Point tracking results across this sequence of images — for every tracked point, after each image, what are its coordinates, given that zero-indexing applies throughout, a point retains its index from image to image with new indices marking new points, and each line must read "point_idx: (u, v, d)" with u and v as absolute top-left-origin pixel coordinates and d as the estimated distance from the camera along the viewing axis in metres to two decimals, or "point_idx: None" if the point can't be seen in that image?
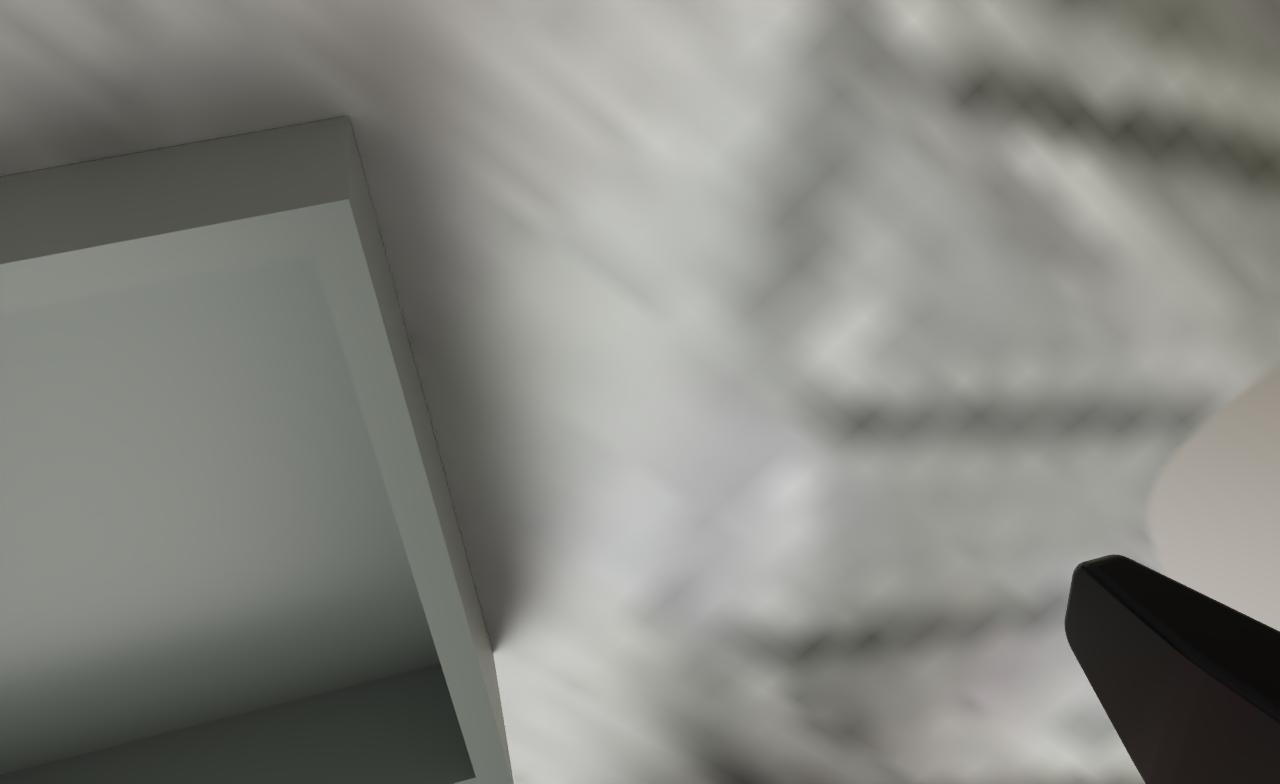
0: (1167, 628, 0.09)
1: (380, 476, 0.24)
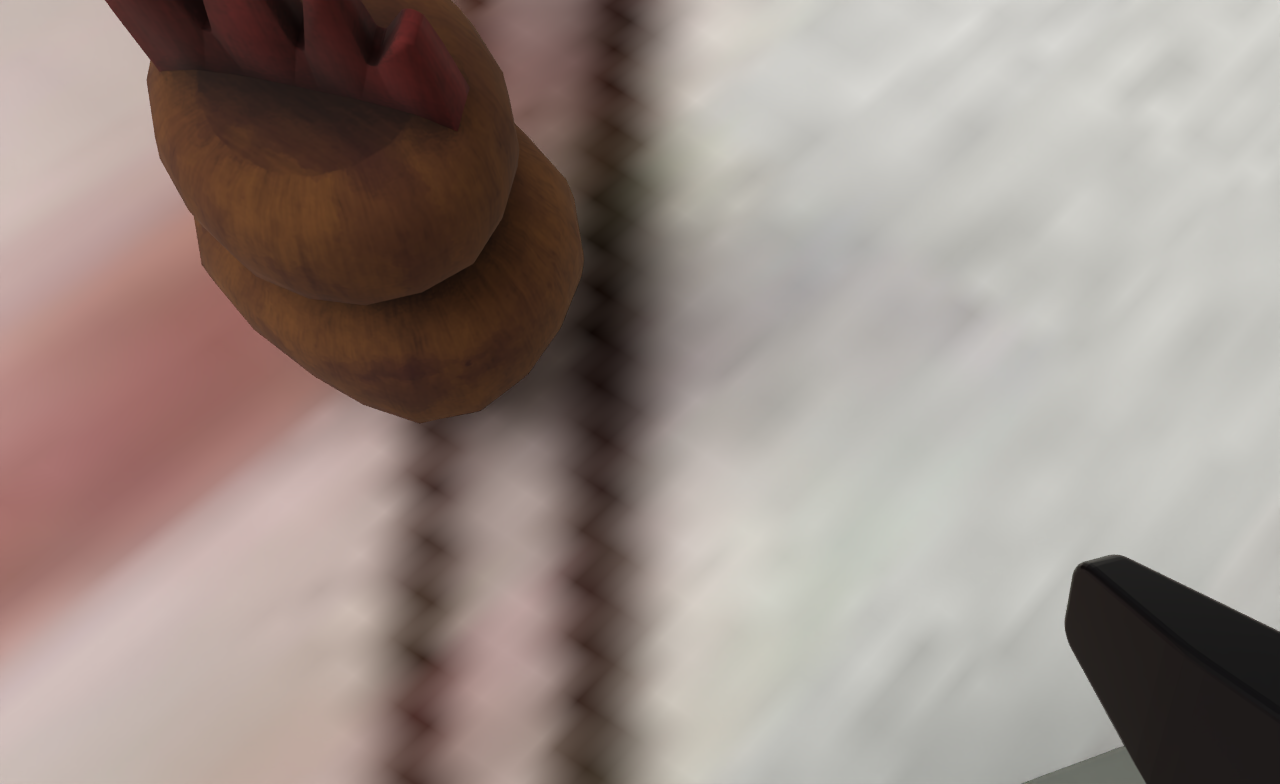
0: (1167, 629, 0.09)
1: None
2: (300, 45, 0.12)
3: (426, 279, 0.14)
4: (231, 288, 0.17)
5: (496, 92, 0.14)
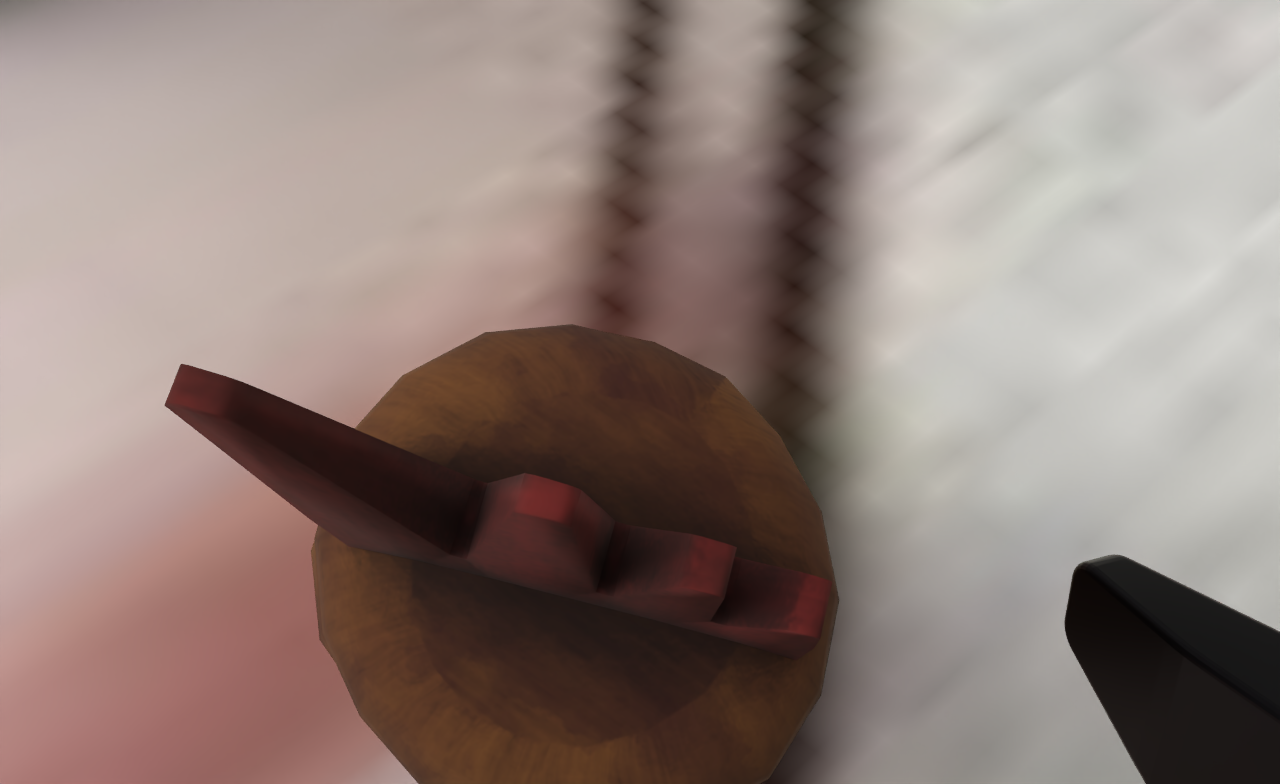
0: (1167, 629, 0.09)
1: None
2: (605, 583, 0.07)
3: None
4: None
5: (829, 564, 0.09)
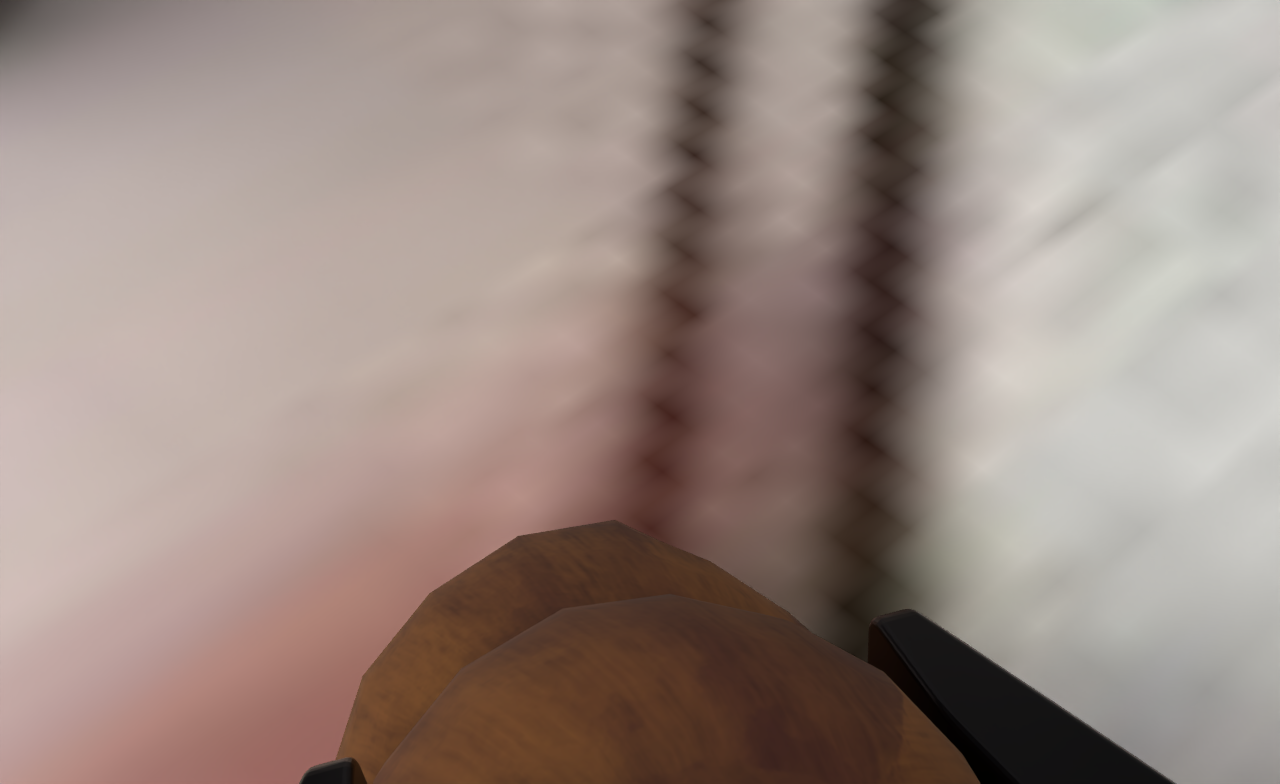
0: (937, 693, 0.08)
1: None
2: None
3: None
4: None
5: None
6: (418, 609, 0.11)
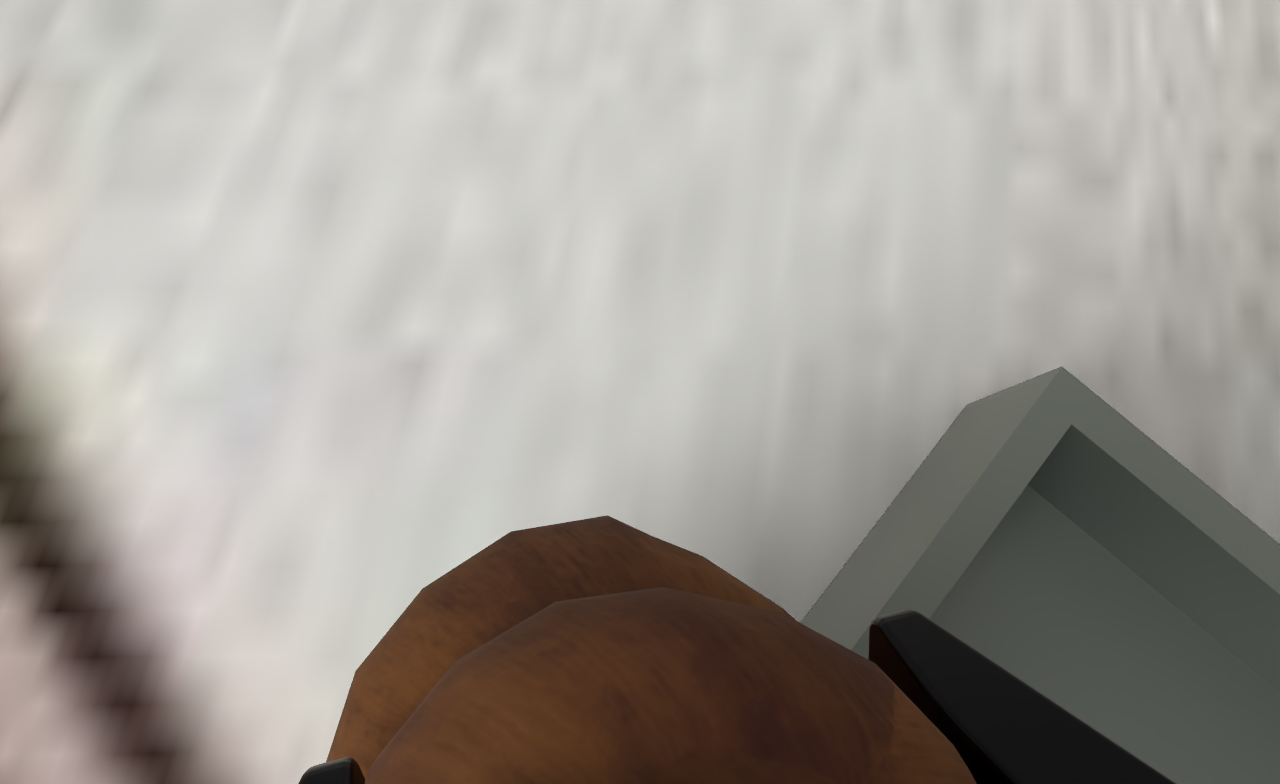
0: (938, 693, 0.08)
1: None
2: None
3: None
4: None
5: None
6: (411, 604, 0.11)
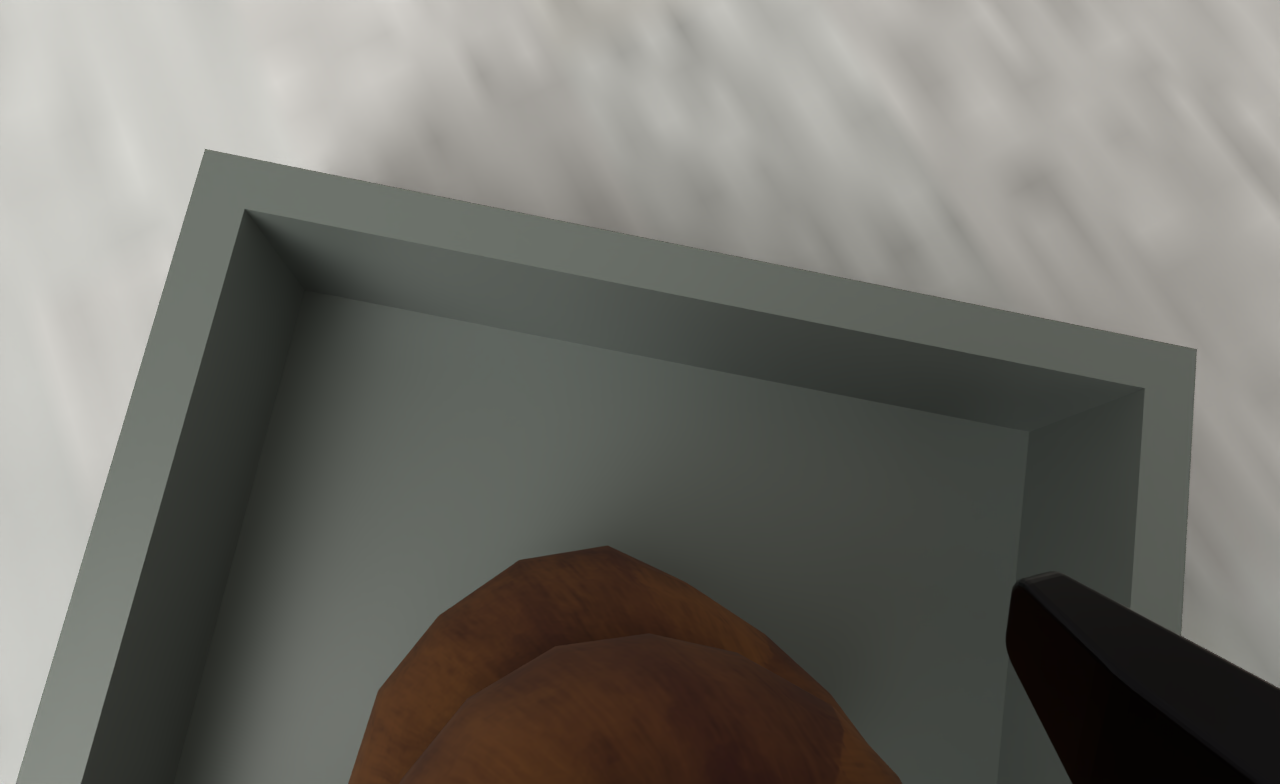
0: (1098, 648, 0.08)
1: None
2: None
3: None
4: None
5: None
6: (428, 630, 0.12)
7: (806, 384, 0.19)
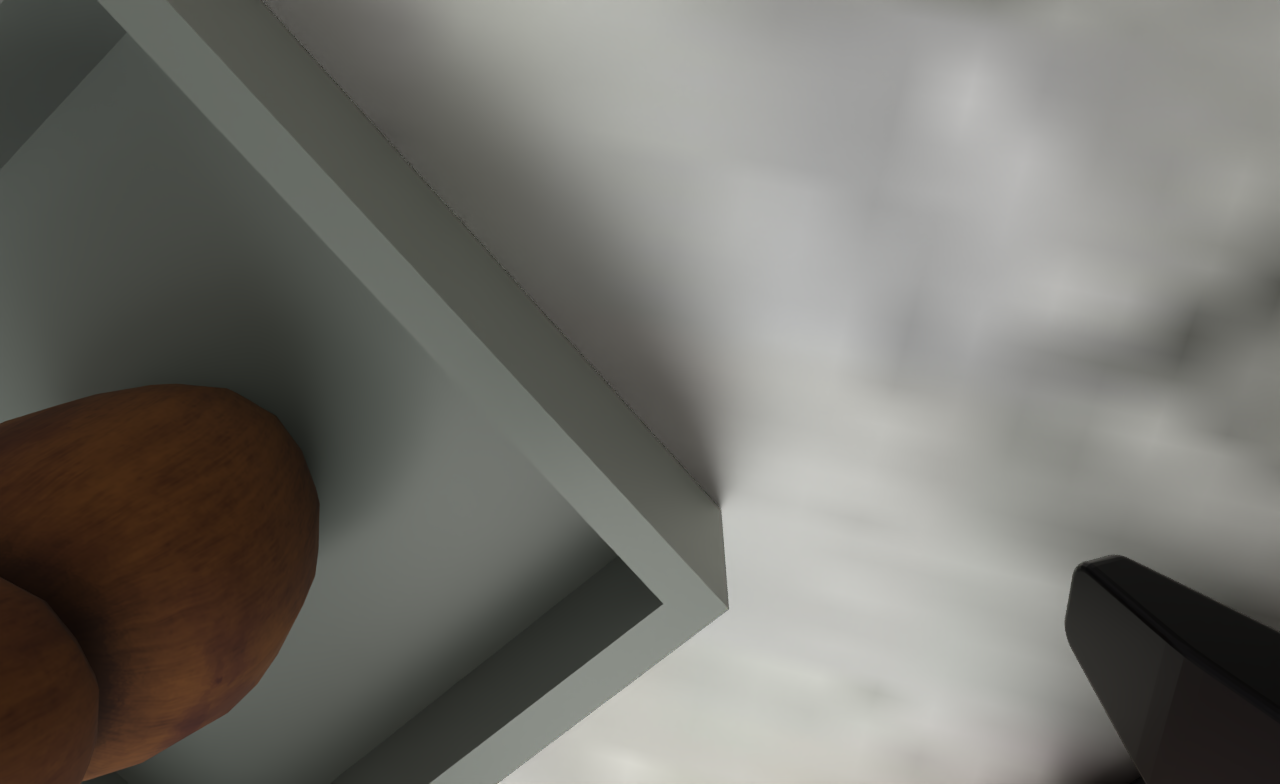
0: (1167, 628, 0.09)
1: None
2: None
3: None
4: None
5: None
6: None
7: (13, 145, 0.20)
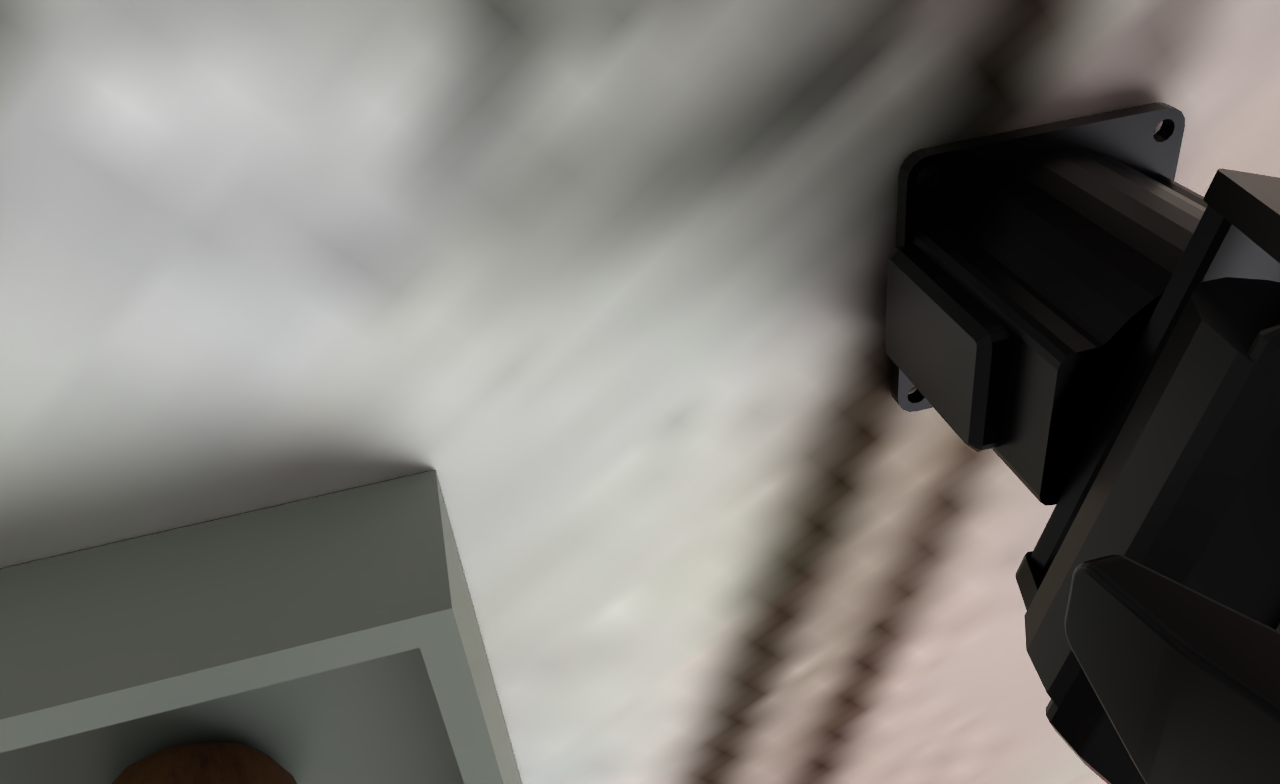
0: (1167, 629, 0.09)
1: None
2: None
3: None
4: None
5: None
6: None
7: None
